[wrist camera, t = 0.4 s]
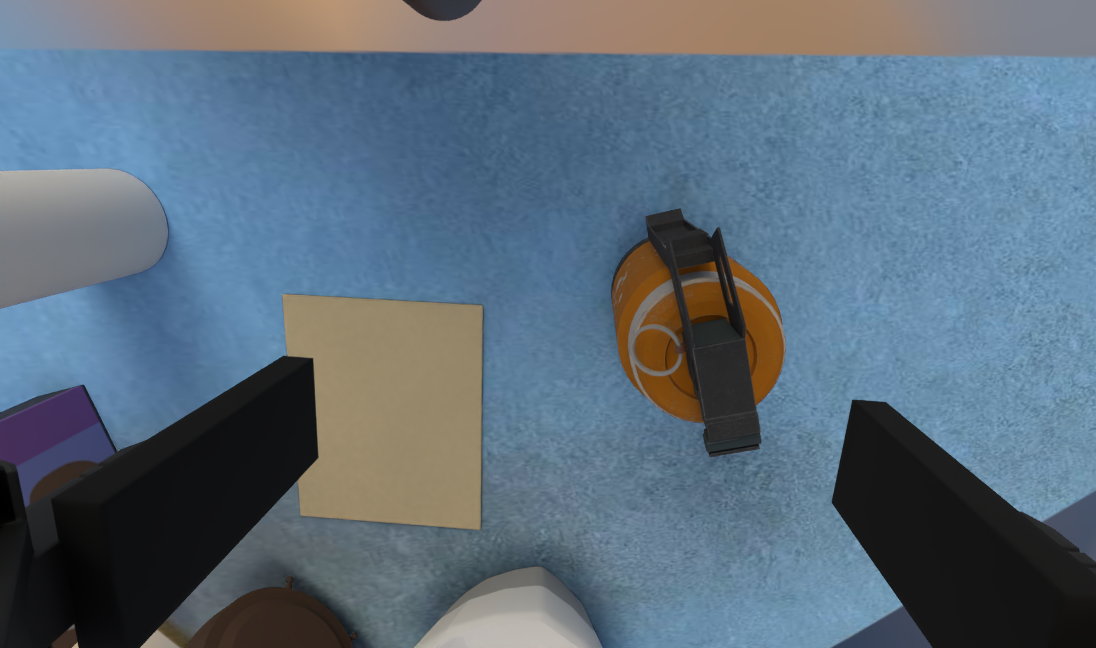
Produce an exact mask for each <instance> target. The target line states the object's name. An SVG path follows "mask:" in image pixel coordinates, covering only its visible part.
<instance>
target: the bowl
mask: <svg viewBox="0 0 1096 648" xmlns="http://www.w3.org/2000/svg"><path fill="white" fill-rule="evenodd" d="M414 648H602V645H601V643H600V641H599V639H598V637H597V635H596V633H595V631H594V628H593V626H592V624H591V622H590V620H589V618H588V616H587V613H586V611H585V609H584V607H583V605H582V603H581V602H580V601H579V600H578V599H577V598H576V596H575V595H574V594H573V593H572V592H571V591H570V590H569V589H568V588H567V587H566V585H565V584H564V583H563V582H561V581H560V580H559V579H558V578H556V577H555V576H554V575H553V574H552V573H550V572H549V571H548V570H547V569H545V568H543V567H529V568H523V569H516V570H512V571H509V572H506V573H503V574H500V575H496V576H493V577H490V578H487V579H486V580H484V581H482V582H481V583H479V584H478V585H476V586H475V587H473V588H472V589H470V590H469V591H467V592H466V593H464V594H463V595H462V596H461V597H460V598H459V599H458V600H457V601H456V602H455V603H454V604H453V605H452V606H451V607H450V608H449V609H448V610H447V612H446V613H445V614H444V615H443V616H442V617H441V618H440V619H439V621H438V622H437V623H436V624H435V625H434V626H433V627H432V628H431V629H430V630H429V632H428V633H427V634H426V635H425V636H424V637H423V638H422V639H421V640H420V641H419V642H418V644H417V645H416V646H415V647H414Z"/></svg>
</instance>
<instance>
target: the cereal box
mask: <svg viewBox="0 0 1096 648" xmlns="http://www.w3.org/2000/svg"><path fill="white" fill-rule="evenodd" d="M116 452H117V451H116V449H115V447H114V445H113V443H112V441H111V439H110V437H109V435H108V433H107V431H106V429H105V427H104V425H103V423H102V421H101V419H100V417H99V415H98V413H97V411H96V409H95V407H94V405H93V403H92V401H91V399H90V397H89V395H88V393H87V391H86V389H85V387H84V385H80V386H76V387H72V388H69V389H65V390H61V391H57V392H53V393H50V394H46V395H42V396H38V397H35V398H33V399H31V400H28V401H26V402H24V403H21V404H19V405H17V406H14V407H12V408H10V409H7V410H5V411H3V412H0V460H4V461H7V462H10V463H13V464H15V466H16V468H17V470H18V475H19V480H20V485H21V490H22V495H23V500H24V505H25V507H27V506H29V505H30V504H32V503H34V502H35V501H37V500H39V499H40V498H42V497H43V496H45V495H47V494H48V493H50V492H52V491H53V490H55V489H57V488H58V487H60V486H62V485H63V484H65V483H67V482H68V481H70V480H72V479H73V478H79V477H80V474H82V473H83V472H85V471H87V470H88V469H90V468H92V467H93V466H98V465H99V463H100V462H102V461H103V460H105V459H107V458H108V457H110V456H111V455H113V454H115V453H116ZM77 642H78V641H77V636H76V631H75V625H72V626H71V627H70V628H69V629H68V630H67V631H66V632H65V633H63V634H62V635H61V636H60V637H59V638H58V639H57V640H55V641H54V642H53V643H52V644H53V648H72V647H73V646H74V645H75V644H76V643H77Z"/></svg>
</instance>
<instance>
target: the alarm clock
mask: <svg viewBox="0 0 1096 648" xmlns="http://www.w3.org/2000/svg"><path fill="white" fill-rule="evenodd" d="M293 580H294V579H293V577H292V576H289V577H287V578H286V582H287V585H286V588H281V587H271V588H263V589H258V590H255V591H252V592H250V593H247V594H245V595H243V596H242V597H240V598H238V599H237V600H235V601H234V602H233V603H231V604H230V605H229V606H227V607H226V608H224V609H223V610H221V611H220V612H218V613H217V614H216V615H214V616H213V617H212V618H211V619H210V620H209V621H208V622H207V623H205V624H204V625H203V626H202V627H201V628H200V629H199V630H198V632H197V633H196V634H195V635H194V636H193V637H192V638H191V640H190V641H189V642H188V643H187V644H186V646H185V647H184V648H353V645H352V642H351V640H352V639H353V640H356V639H357V637H358V634H357V633H356V632H353V633H352V635H350V636H348V634H347V632H346V631H345V629H344V627H343V626H342V624H341V623H340V622H339V620H338V619H337V618H336V617H335V615H334V614H333V613H332V612H331V611H330V610H329V609H328V608H327V607H325V606H324V605H323V604H322V603H320V602H319V601H318V600H316V599H314V598H313V597H311V596H309V595H307V594H305V593H302V592H300V591H297V590H293V589H292V582H293Z"/></svg>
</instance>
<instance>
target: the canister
mask: <svg viewBox="0 0 1096 648" xmlns="http://www.w3.org/2000/svg"><path fill="white" fill-rule="evenodd" d="M645 217H646V224H647V231H648V238H646V239H644V240H642V241H641V242H639V243H638V244H636V245H635V246H634V247H632V248H631V249H630V250H629V251H628V252H627V253H626V255H625V256H624V257H623V258H622V260H621V261H620V263H619V265H618V267H617V269H616V271H615V274H614V277H613V282H612V290H611V297H612V305H613V313H614V320H615V328H616V336H617V343H618V351H619V356H620V360H621V363H622V366H623V368H624V370H625V372H626V374H627V376H628V378H629V379H630V381H631V382H632V384H633V385H634V386H635V387H636V388H637V389H638V390H639V391H640V392H641V393H642V394H643V395H644V396H645V397H647V398H648V399H649V400H650V401H651V402H652V403H653V404H654V405H655V406H656V407H658V408H659V409H660V410H662V411H663V412H665V413H667V414H669V415H671V416H673V417H675V418H678V419H681V420H684V421H690V422H695V423H704V424H705V426H706V429H704V434H703V438H704V443H705V447H706V451H707V453H708V452H709V455H710V457H715V456H720V455H726V454H732V453H738V452H744V451H750V450H756V449H760V447H759V445H758V444H761V436H760V433H761V431H760V425H759V418H758V414H757V410H756V405H757V404H759V403H760V402H761V401H762V400H763V399H764V398H765V397H766V396H767V394H768V393H769V392H770V391H771V389H772V388H773V387H774V385H775V384H776V382H777V380H778V378H779V376H780V374H781V371H782V368H783V364H784V361H785V353H786V341H785V334H784V330H783V326H782V319H781V315H780V311H779V308H778V306H777V303H776V301H775V299H774V297H773V296H772V294H771V293H770V291H769V290H768V288H767V287H766V286H765V285H764V284H763V283H762V282H761V281H760V279H758V278H757V277H756V276H754V275H753V274H752V273H751V272H749V271H748V270H747V269H745V268H744V267H742V266H741V265H740V264H738V263H737V262H736V261H734V260H733V259H732V258H730V257H729V256H727V253H726V250H725V246H724V242H723V239H722V235H721V231H720V227H718V228H717V229H716V231H715V232H714V234H713V236H712V237H710V236H709V235H708V233H706V232H705V231H703V230H702V229H698V228H697V227H695V226H694V225H692V224H691V223H690V222H688V221H687V220H685V219H684V217H683V214H682V212H681V209H675V210H671V211H666V212H662V213H657V214H653V215H648V216H645Z"/></svg>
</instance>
